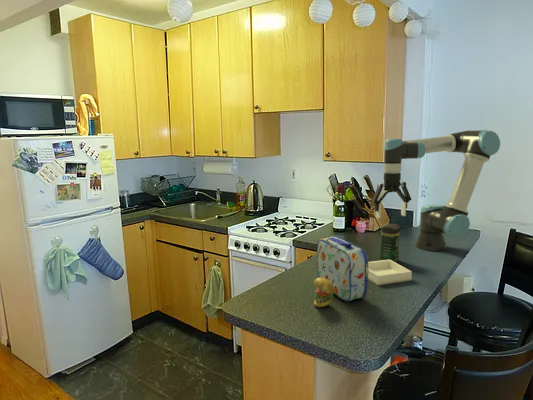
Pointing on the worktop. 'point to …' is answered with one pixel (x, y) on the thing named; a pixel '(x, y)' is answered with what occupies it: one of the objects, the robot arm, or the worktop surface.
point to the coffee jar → (390, 242)
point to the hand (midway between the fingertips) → (390, 216)
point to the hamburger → (323, 292)
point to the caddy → (387, 272)
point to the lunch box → (343, 267)
